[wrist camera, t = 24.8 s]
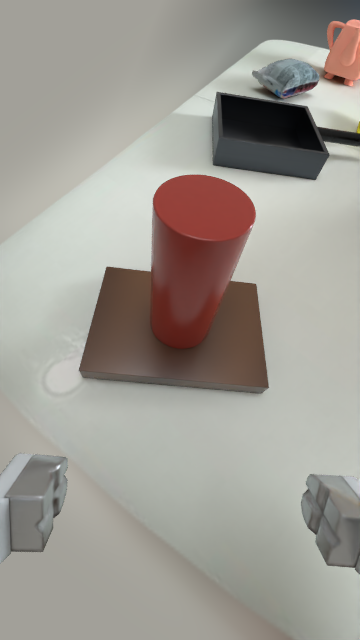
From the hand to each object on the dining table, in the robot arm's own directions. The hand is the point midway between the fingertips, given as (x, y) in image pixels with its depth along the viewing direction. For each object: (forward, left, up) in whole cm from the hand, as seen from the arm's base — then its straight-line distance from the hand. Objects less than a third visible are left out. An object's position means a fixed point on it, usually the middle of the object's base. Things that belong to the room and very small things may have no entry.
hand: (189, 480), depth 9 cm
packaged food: (+18, +70, -10) cm, 73 cm away
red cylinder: (0, +11, -8) cm, 14 cm away
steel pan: (+15, +46, -10) cm, 50 cm away
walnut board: (0, +11, -10) cm, 15 cm away
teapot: (+35, +85, -10) cm, 93 cm away
